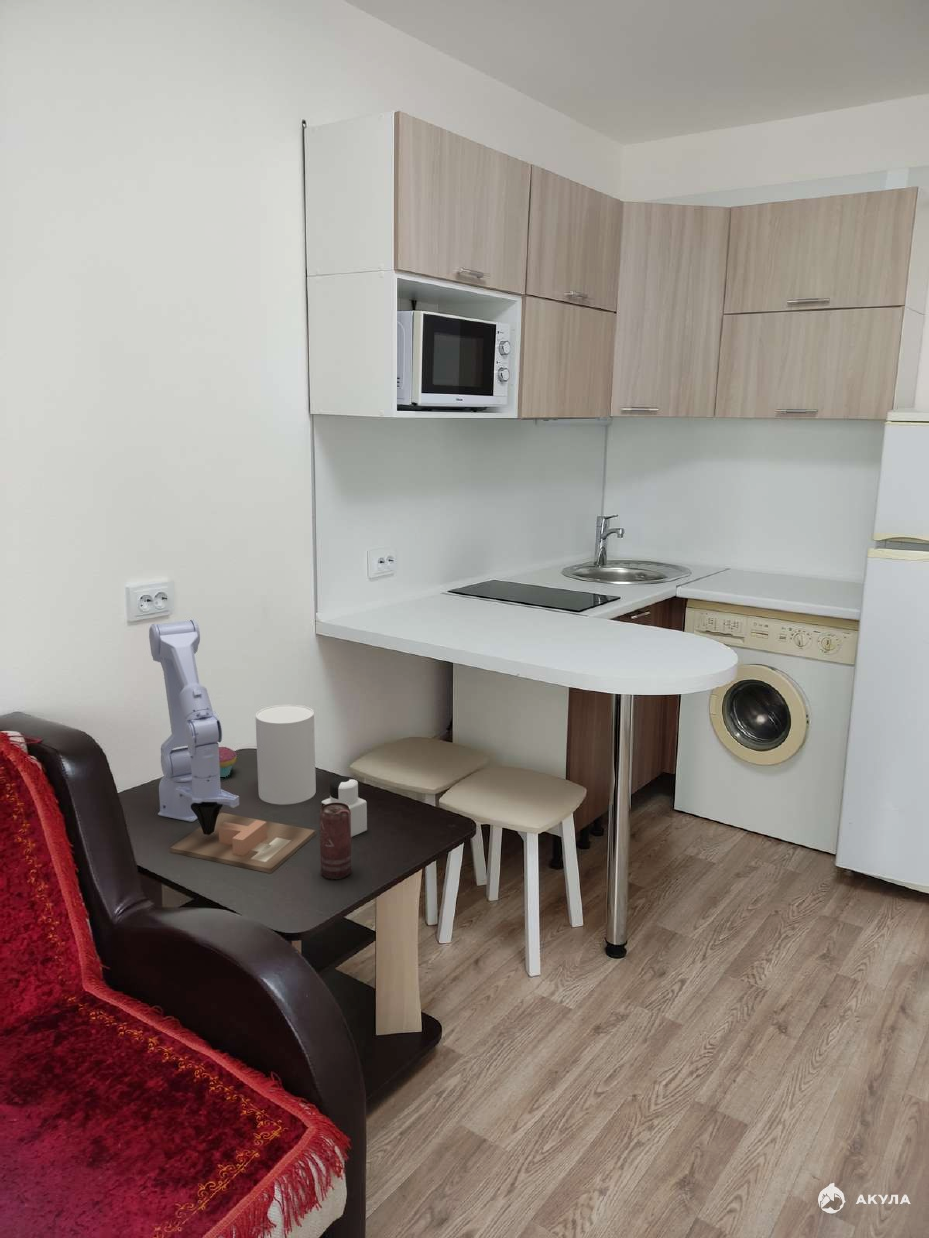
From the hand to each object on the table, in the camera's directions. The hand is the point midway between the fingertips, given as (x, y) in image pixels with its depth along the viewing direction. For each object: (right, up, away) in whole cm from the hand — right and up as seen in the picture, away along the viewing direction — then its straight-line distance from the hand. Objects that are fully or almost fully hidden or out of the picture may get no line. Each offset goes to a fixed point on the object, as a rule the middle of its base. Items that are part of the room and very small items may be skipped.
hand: (208, 832), depth 192 cm
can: (+29, -5, -12) cm, 32 cm away
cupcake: (-7, +6, +35) cm, 36 cm away
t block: (+7, -2, -2) cm, 7 cm away
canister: (+12, +3, +25) cm, 28 cm away
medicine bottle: (+28, -1, +6) cm, 29 cm away
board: (+8, -2, 0) cm, 8 cm away
